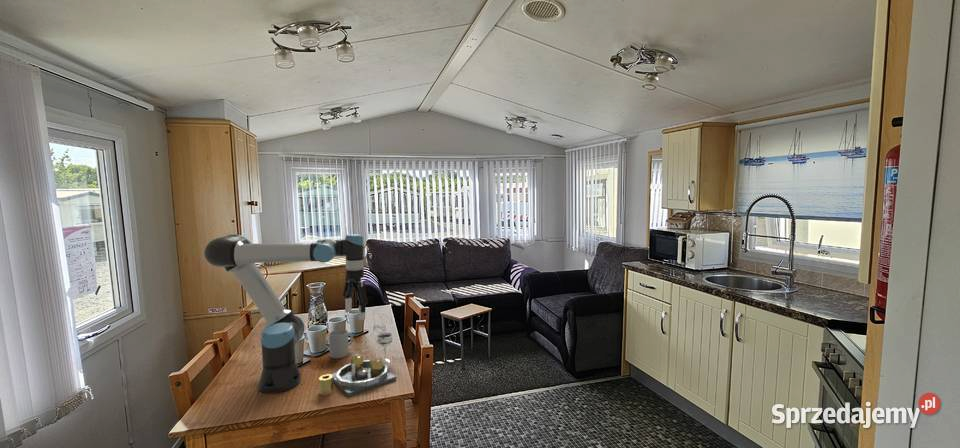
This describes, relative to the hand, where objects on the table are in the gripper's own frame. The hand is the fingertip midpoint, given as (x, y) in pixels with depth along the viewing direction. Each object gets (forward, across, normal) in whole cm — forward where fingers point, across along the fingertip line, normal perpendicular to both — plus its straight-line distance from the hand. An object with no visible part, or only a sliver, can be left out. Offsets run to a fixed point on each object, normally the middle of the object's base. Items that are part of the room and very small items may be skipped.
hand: (355, 315), depth 171 cm
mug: (+22, +14, 0) cm, 26 cm away
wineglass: (+22, -8, -11) cm, 25 cm away
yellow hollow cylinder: (+22, -17, +20) cm, 34 cm away
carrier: (+22, -17, +5) cm, 28 cm away
